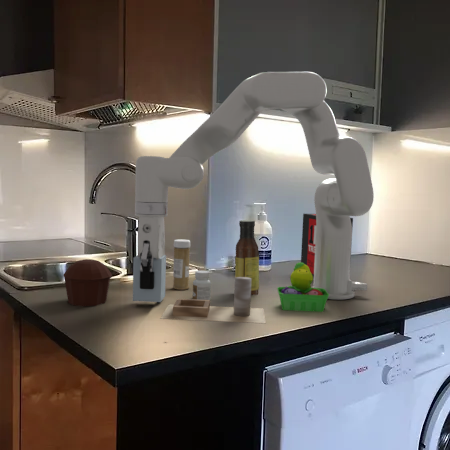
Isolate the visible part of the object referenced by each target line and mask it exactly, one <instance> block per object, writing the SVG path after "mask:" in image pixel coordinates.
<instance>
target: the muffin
mask: <svg viewBox="0 0 450 450" xmlns="http://www.w3.org/2000/svg"><path fill="white" fill-rule="evenodd" d="M112 277H113V274H112V272H111V270H110V269H109V268H108V267H107V266H106V265H105V264H104V263H103V262H100V261H99V260H96V259H93V258H92V259H89V258H88V259H80V260H77V261H75V262H74V263H72V264H71V265H70V266H69V267H68V268H67V269H66V271H65V272H64V273H63V278H64V283H65V284H64V285H65V290H66V297H67V302H68V304H70V305H72V306H78V307H95V306H96V307H97V306H100V305H102V304H103V305H104V304H106V302H107V300H108V295H109V294H108V293H109V286H110V282H111V278H112Z"/></svg>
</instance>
